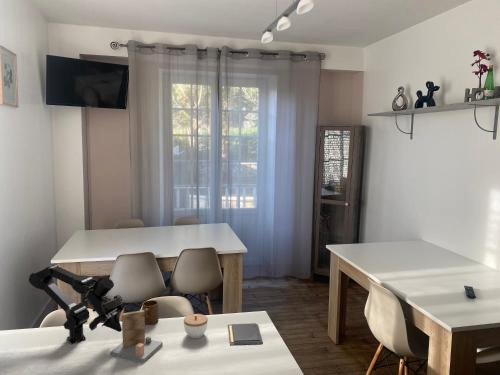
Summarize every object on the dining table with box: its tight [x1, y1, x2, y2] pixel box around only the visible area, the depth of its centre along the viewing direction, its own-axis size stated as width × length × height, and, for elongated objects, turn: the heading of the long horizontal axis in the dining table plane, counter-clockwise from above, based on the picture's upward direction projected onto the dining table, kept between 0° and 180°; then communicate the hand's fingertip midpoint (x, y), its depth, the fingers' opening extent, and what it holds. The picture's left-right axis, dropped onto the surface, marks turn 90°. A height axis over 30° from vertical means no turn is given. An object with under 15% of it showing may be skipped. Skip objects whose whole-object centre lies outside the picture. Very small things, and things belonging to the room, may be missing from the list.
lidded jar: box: [183, 313, 209, 339], centre depth 176 cm, size 11×11×9 cm
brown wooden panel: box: [121, 310, 146, 347], centre depth 163 cm, size 9×2×14 cm, turn 116°
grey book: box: [227, 322, 264, 347], centre depth 178 cm, size 20×2×15 cm
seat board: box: [109, 336, 163, 363], centre depth 163 cm, size 16×14×6 cm
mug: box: [141, 299, 159, 326], centre depth 187 cm, size 12×8×9 cm, turn 176°
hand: (120, 331), depth 163 cm, fingers closed
